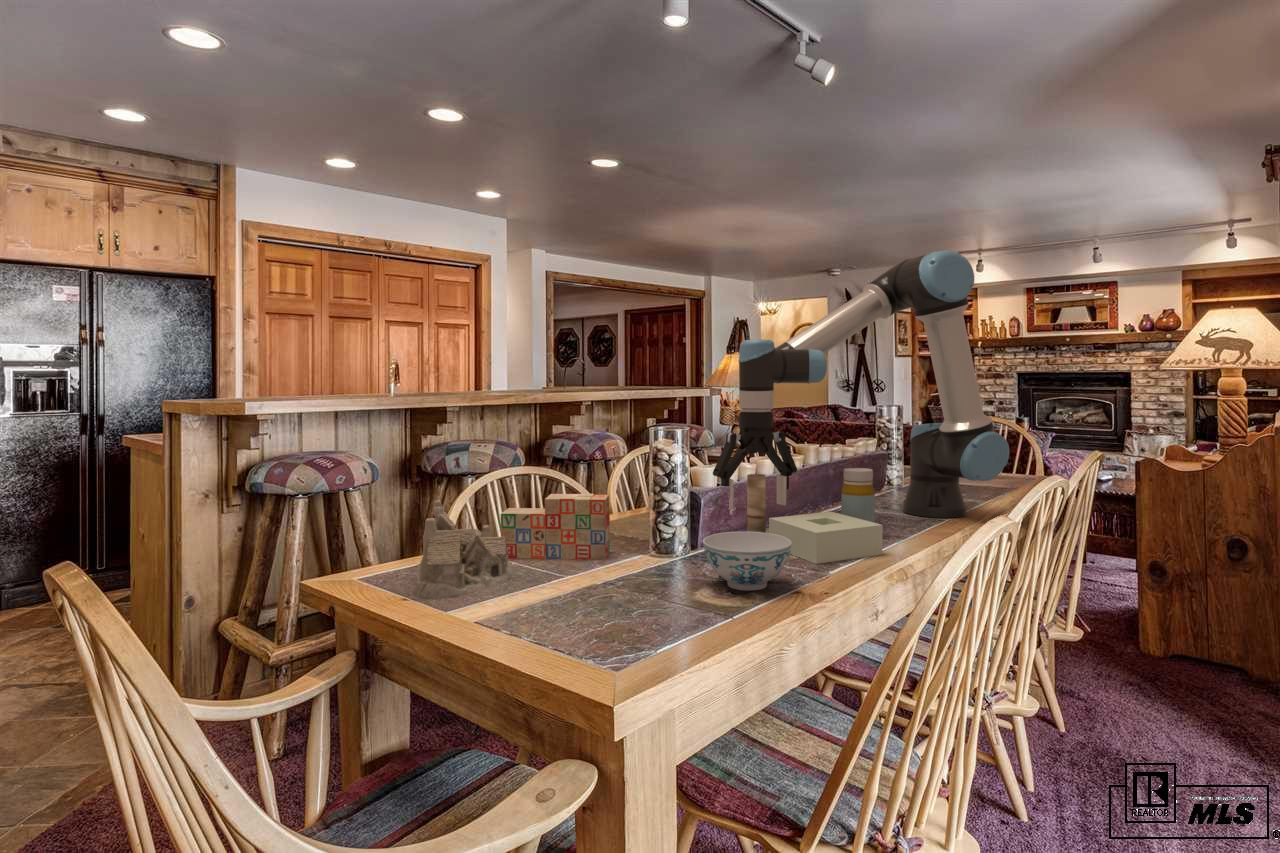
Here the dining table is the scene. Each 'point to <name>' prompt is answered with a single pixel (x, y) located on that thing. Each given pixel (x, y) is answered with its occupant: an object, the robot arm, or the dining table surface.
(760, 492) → the ash dowel
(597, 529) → the stack of blocks
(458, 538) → the ceramic cottage
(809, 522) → the sage socket block
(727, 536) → the chinaware
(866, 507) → the bottle
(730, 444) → the robot arm
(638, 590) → the dining table surface
